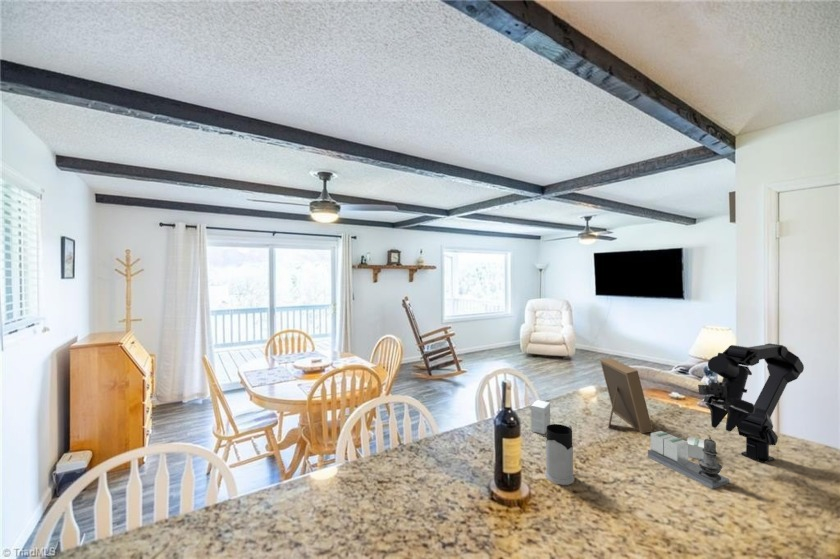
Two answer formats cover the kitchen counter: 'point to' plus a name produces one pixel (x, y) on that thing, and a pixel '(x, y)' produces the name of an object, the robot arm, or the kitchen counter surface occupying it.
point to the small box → (540, 416)
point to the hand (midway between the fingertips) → (720, 429)
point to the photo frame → (626, 394)
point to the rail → (679, 458)
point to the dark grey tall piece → (710, 461)
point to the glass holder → (559, 454)
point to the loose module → (695, 448)
